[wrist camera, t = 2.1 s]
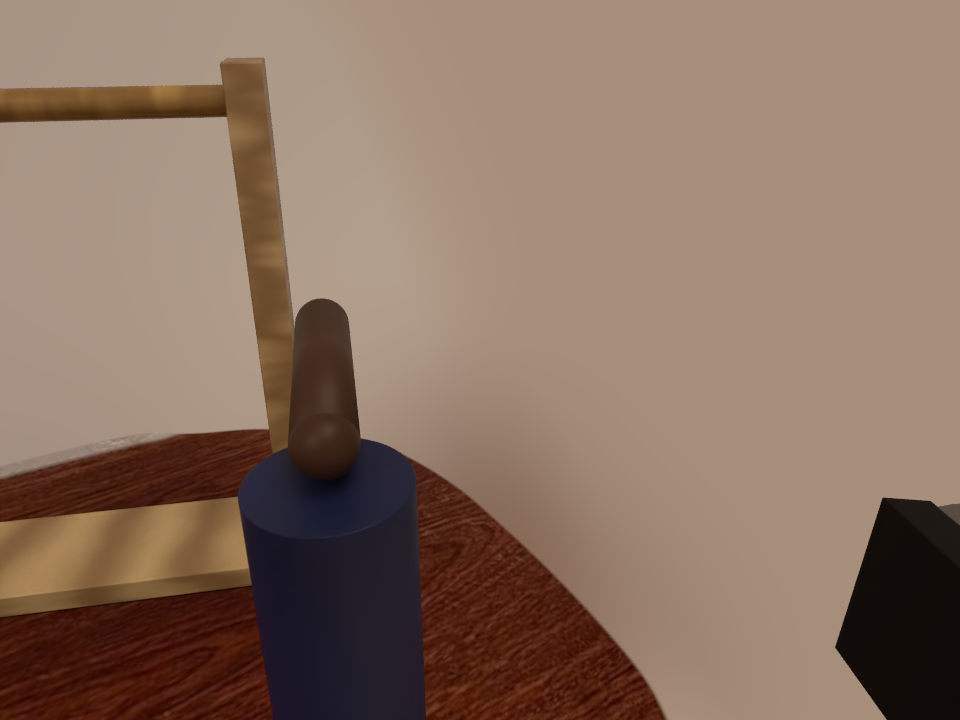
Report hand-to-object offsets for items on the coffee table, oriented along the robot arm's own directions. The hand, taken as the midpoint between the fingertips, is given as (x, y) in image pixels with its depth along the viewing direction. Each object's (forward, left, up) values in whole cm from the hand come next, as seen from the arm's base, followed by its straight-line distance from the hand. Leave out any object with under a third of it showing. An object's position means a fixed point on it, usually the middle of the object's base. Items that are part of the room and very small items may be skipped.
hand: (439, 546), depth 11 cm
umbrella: (+7, -5, -27) cm, 28 cm away
